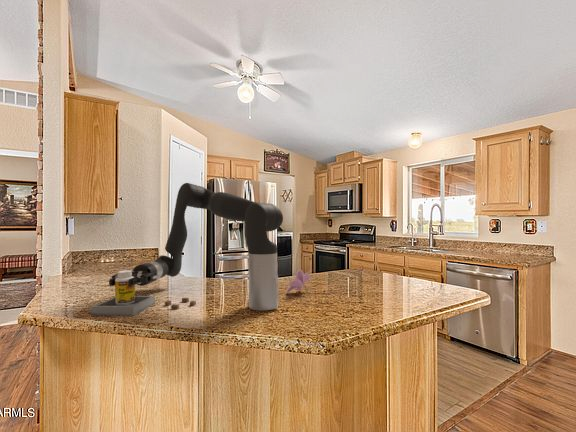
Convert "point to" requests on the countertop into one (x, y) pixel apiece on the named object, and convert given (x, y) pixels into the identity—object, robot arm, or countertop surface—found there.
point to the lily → (299, 281)
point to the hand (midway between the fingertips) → (120, 282)
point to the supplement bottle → (124, 288)
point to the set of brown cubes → (176, 306)
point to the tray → (122, 307)
